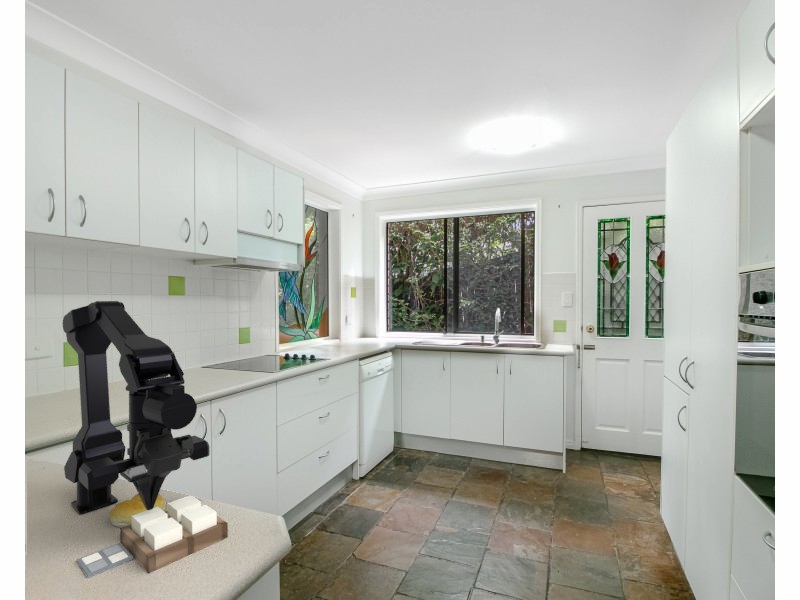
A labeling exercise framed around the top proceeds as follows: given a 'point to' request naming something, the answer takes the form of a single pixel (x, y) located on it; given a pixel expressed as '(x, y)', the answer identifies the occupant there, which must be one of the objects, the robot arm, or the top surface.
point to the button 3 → (182, 507)
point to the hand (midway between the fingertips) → (149, 509)
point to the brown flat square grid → (171, 545)
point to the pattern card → (104, 559)
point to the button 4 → (198, 519)
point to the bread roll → (132, 510)
